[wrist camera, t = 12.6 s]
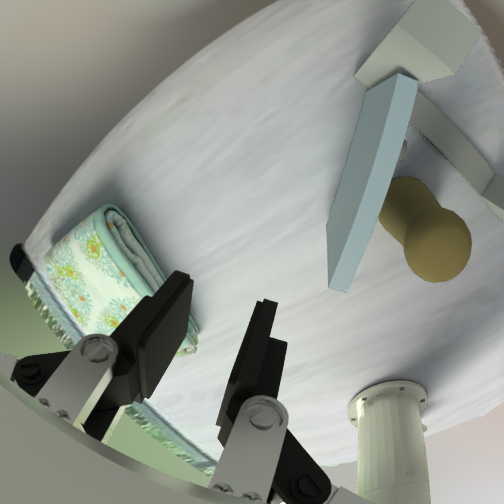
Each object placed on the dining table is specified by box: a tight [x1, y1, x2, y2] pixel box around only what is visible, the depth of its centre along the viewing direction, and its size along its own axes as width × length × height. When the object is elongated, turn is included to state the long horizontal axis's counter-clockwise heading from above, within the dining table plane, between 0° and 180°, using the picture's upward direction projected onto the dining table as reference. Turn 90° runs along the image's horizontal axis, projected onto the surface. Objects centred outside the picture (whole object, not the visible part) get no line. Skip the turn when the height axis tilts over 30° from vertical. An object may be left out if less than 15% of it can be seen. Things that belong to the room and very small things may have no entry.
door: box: [326, 73, 419, 293], centre depth 19 cm, size 13×3×11 cm, turn 168°
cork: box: [378, 176, 472, 283], centre depth 21 cm, size 6×6×11 cm
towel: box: [44, 204, 199, 358], centre depth 36 cm, size 18×21×5 cm
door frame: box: [354, 0, 504, 220], centre depth 15 cm, size 20×3×16 cm, turn 58°
